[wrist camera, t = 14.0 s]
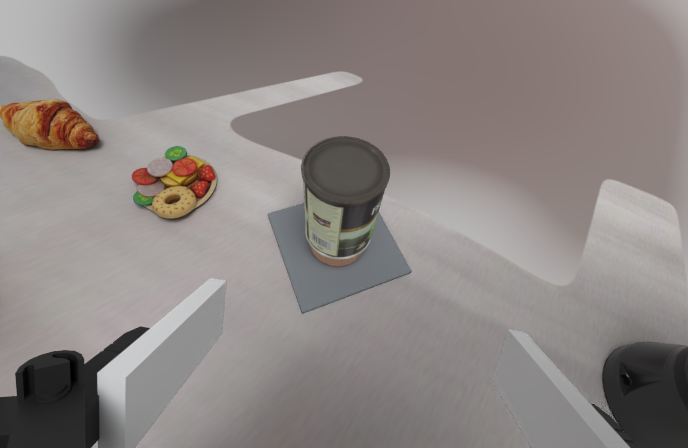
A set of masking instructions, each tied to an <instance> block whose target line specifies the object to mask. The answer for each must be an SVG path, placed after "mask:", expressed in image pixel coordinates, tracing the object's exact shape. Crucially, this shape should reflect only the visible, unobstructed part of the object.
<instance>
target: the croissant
mask: <svg viewBox="0 0 688 448" xmlns="http://www.w3.org/2000/svg"><path fill="white" fill-rule="evenodd" d="M0 117H1V119H3V124H4V126H5V127H6V128H7V129H8V130H9V131H10V132H11V133H12V134H13V135H15V136H17V138H19V140H20V142H21V143H22V144H24V145H34V146H38V147H40V148H44V149H50V150H56V149H85V148H88V147H91V146H93V145H96V144H97V143H98V141H99V138H98V135H97V134H94V130H93V128H92V126H91V125H90V124H89V123H87V122H86V121H85V120H84V119H83V118H82V116H81V115H80V114H79V113H78V112H76V111H74V110H72V107H71V106H70V104H69V103H67V102H65V101H61V100H59V99H50V100H43V101H41V100H40V101H28V102H22V103H12V104H8V105H2V106H1V109H0Z"/></svg>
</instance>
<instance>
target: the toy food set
mask: <svg viewBox="0 0 688 448" xmlns="http://www.w3.org/2000/svg"><path fill="white" fill-rule="evenodd" d="M132 179H133V181H134V182H135V183H137V184H138V185H137V192H136V193H135V194H134V196H133V200H134V202H135V203H136V204H138V205H141V206H145V207H146V208H148V209H149V210H151V211H154V212H155V213H156V214H157V215H158V216H160V217H163V218H178V217H181V216H184V215H186V214H188V213H189V212H191V211H192V210H193V209H195V208H197V207H198V206H200V205H201V204H203V203H204V202H205V201H206V200H207V199H208V198H209V197H210V196H211V194H212V193H213V191H214V189H215V187H216V182H217V177H216V173H215V170H214V168H213V167H212V166H211V165H210V164H209V163H208V162H206V161H205V160H203V159H201V158H198V157H194V156H187V151H186V149H185V148H183V147H180V146H175V147H171V148H169V149H168V150H167V151H166V153H165V157H163V158H158V159H155V160H153V161H152V162H150V163H149V165H148V167H147V168H141V169H138V170H136V171H134V172H133V174H132Z"/></svg>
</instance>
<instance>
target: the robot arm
mask: <svg viewBox="0 0 688 448" xmlns="http://www.w3.org/2000/svg"><path fill="white" fill-rule="evenodd" d="M225 293H226V281H224V280H219V279H213V278H210V279H209V280H207V281H206V282H205V283H204V284H203V285H201V286H200V287H199V288H198V289H197V290H196V291H194V292H193V293H192V294H191V295H190V296H188V297H187V298H186V299H185V300H184V301H182V302H181V303H180V304H179V305H178V306H176V307H175V308H174V309H173V310H172V311H170V312H169V313H168V314H167V315H166V316H164V317H163V318H162V319H161V320H160V321H159V322H157V323H156V324H155V325H154V326H153V327H151V328H146V327H138V328H136V329H134V330H131V331H129V332H127V333H125V334H123V335H122V336H121V337H119V338H118V339H117V340H116V341H114V342H113V344H110V345H109V346H108V347H106V348H105V349H104V351H101V352H100V353H99V354H97V355H96V356H95V357H93V358H92V359H91V360H90V361H88V362H87V363H86V364H84V358H83V356H82V354H80V353H78V352H76V351H68V350H63V351H53V352H50V353H46V354H42V355H39V356H37V357H35V358H33V359H30V360H28V361H27V362H26V363H24V364H23V365H22V366H20V367H19V369H18V370H17V372H16V373H15V375H16V388H17V396H12V397H0V448H91V447H92V446H93V445H94V444H95V443H96V442H97V441H98V448H135V447H136V446H137V445H138V443H139V442H140V441H141V439H142V438H143V437H144V435H145V434H146V433H147V431H148V430H149V429H150V427H151V426H152V425H153V424H154V422H155V421H156V420H157V418H158V417H159V416H160V414H161V413H162V412H163V410H164V409H165V408H166V407H167V405H168V404H169V403H170V401H171V400H172V399H173V397H174V396H175V395H176V393H177V392H178V391H179V389H180V388H181V387H182V386H183V384H184V383H185V382H186V380H187V379H188V378H189V376H190V375H191V374H192V372H193V371H194V370H195V369H196V367H197V366H198V365H199V363H200V362H201V361H202V359H203V358H204V357H205V355H206V354H207V353H208V351H209V350H210V349H211V348H212V346H213V345H214V344H215V342H216V341H217V340H218V338H219V337H220V336H221V334H222V328H223V316H224V305H225ZM493 382H494V384H495V386H496V388H497V389H498V391H499V393H500V395H501V396H502V398H503V400H504V401H505V403H506V405H507V407H508V408H509V410H510V412H511V414H512V415H513V417H514V419H515V421H516V422H517V424H518V426H519V428H520V429H521V431H522V433H523V434H524V436H525V438H526V440H527V441H528V443H529V445H530V447H531V448H688V346H684V345H674V344H665V343H656V342H639V343H634V344H630V345H626V346H623V347H620V348H618V349H616V350H615V351H614V352H613V353H612V354H611V355H610V356H609V358H608V359H607V361H606V364H605V367H604V374H603V382H604V389H605V394H606V397H607V400H608V403H609V406H610V408H611V410H612V412H613V414H614V416H615V418H616V419H617V421H618V423H619V424H620V426H621V427H622V428H621V427H620V426H619V425H618V424H617V423H616V422H615V421H614V420H613V419H612V418H611V417H610V416H609V415H608V414H606V413H605V412H604V411H602V410H601V409H600V408H598V407H597V406H596V405H594V404H590V403H589V402H588V401H587V400H586V399H585V397H584V396H583V395H582V394H581V393H580V392H579V391H578V390H577V389H576V388H575V386H574V385H573V384H572V383H571V382H570V381H569V380H568V379H567V378H566V377H565V375H564V374H563V373H562V372H561V371H560V370H559V369H558V368H557V367H556V366H555V365H554V363H553V362H552V361H551V360H550V359H549V358H548V357H547V356H546V355H545V354H544V352H543V351H542V350H541V349H540V348H539V347H538V346H537V345H536V344H535V343H534V341H533V340H532V339H531V338H530V337H529V336H528V335H527V334H526V333H525V332H523V331H517V330H511V329H508V331H507V334H506V338H505V341H504V344H503V348H502V351H501V354H500V357H499V361H498V364H497V367H496V371H495V374H494V377H493ZM623 430H624V431H625V432H623ZM633 442H634V443H633Z"/></svg>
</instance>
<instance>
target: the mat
mask: <svg viewBox="0 0 688 448" xmlns="http://www.w3.org/2000/svg"><path fill="white" fill-rule="evenodd" d="M268 216H269V219H270V222H271V225H272V228H273V231H274V234H275V237H276V239H277V242H278V245H279V248H280V251H281V254H282V257H283V260H284V262H285V265H286V268H287V271H288V274H289V277H290V280H291V283H292V285H293V288H294V291H295V294H296V297H297V300H298V303H299V306H300V308H301V311H302V314H303V313H305V312H308V311H311V310H313V309H316V308H319V307H321V306H324V305H327V304H329V303H332V302H335V301H337V300H340V299H343V298H345V297H348V296H351V295H353V294H356V293H359V292H361V291H364V290H366V289H369V288H372V287H374V286H377V285H380V284H382V283H385V282H388V281H390V280H393V279H396V278H398V277H401V276H404V275H406V274H409V273H411V272H412V271H411V270H410V268H409V266H408V264H407V262H406V261H405V259H404V257H403V255H402V253H401V251H400V250H399V248H398V246H397V244H396V242H395V241H394V239H393V237H392V235H391V233H390V231H389V230H388V228H387V226H386V224H385V222H384V221H383V219H382V217H381V215H380V213H379V212H378V215H377V218H376V222H375V225H374V229H373V232H372V238H371V241H370V243H369V245H368V246H367V248H366V249H365V250H364V251H363V253H362V255H361V256H360V257H359V258H358V260H356V261H355V262H354V263H352V264H350V265H347V266H343V267H332V266H328V265H326V264H324V263H322V262H320V261H319V260H318V259H317V258H316V257H315V256H314V255H313V253H312V251H311V249H310V244H309V242H308V240H307V238H306V234H305V225H306V224H305V205H304V203H303V204H300V205H296V206H293V207H289V208H286V209H282V210H279V211H275V212H272V213H268Z"/></svg>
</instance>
